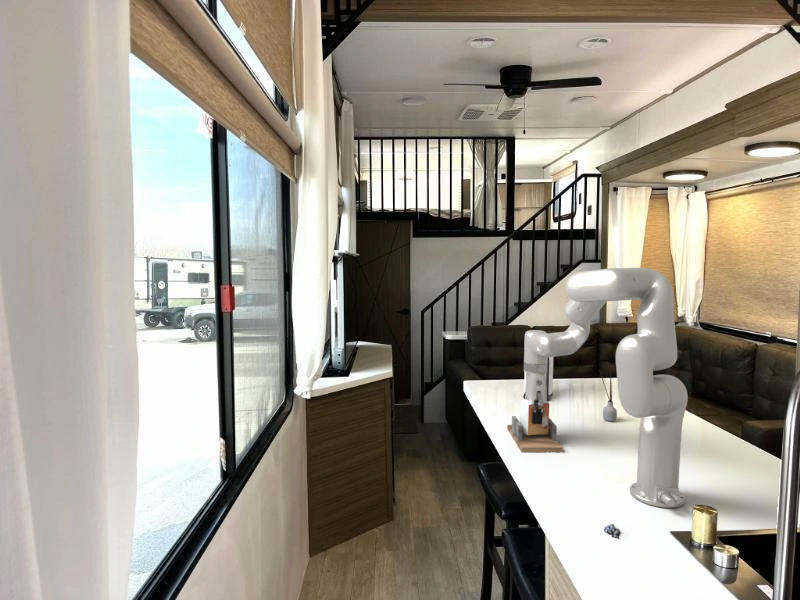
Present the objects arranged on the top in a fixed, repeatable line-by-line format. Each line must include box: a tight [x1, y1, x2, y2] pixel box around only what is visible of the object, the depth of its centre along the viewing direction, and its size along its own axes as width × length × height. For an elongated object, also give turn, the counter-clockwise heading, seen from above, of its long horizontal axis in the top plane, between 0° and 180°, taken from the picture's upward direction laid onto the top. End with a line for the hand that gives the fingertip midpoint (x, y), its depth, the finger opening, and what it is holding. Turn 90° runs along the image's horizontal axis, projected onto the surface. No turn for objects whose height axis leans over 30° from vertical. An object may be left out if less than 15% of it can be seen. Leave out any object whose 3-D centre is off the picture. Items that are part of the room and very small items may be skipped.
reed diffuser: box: [598, 367, 618, 422], centre depth 190 cm, size 10×7×20 cm
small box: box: [519, 399, 550, 435], centre depth 168 cm, size 8×6×10 cm
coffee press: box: [522, 329, 554, 402], centre depth 220 cm, size 17×16×30 cm
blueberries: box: [603, 523, 629, 540], centre depth 112 cm, size 7×8×2 cm
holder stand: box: [506, 415, 564, 454], centre depth 169 cm, size 22×13×6 cm, turn 179°
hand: (534, 419), depth 169 cm, fingers closed on small box, 6 cm apart
